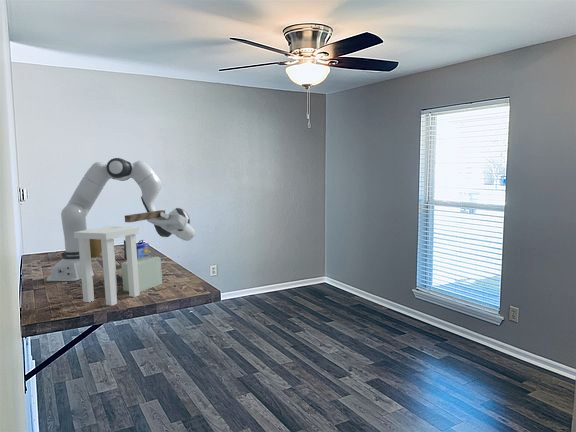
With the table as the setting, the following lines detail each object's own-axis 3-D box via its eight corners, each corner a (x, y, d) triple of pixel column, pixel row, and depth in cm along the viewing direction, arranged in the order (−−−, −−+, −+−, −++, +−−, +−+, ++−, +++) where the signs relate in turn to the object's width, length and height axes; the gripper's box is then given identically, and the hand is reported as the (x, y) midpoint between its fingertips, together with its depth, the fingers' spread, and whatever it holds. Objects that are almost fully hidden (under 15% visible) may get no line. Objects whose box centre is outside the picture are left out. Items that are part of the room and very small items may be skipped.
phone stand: (136, 259, 276) (135, 240, 275) (126, 260, 273) (125, 241, 272) (134, 256, 284) (132, 238, 282) (124, 258, 281) (122, 239, 280)
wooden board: (130, 222, 197) (129, 215, 196) (125, 222, 198) (124, 215, 198) (165, 216, 218) (165, 210, 218) (160, 216, 220) (160, 210, 219)
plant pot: (100, 258, 283) (98, 233, 281) (77, 258, 283) (75, 234, 282) (110, 253, 298) (108, 230, 296) (88, 254, 298) (86, 231, 296)
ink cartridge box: (138, 266, 254) (137, 241, 253) (131, 265, 256) (129, 241, 255) (150, 262, 263) (148, 239, 262) (142, 262, 265) (141, 238, 264)
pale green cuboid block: (138, 292, 198) (136, 264, 196) (123, 290, 202) (121, 263, 200) (162, 283, 212) (160, 257, 211) (147, 282, 216) (146, 256, 215)
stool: (111, 306, 178) (105, 233, 175) (79, 302, 185) (73, 232, 182) (143, 294, 194) (138, 227, 191) (112, 291, 202) (107, 226, 198)
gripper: (159, 218, 231) (141, 207, 220) (190, 218, 223) (174, 207, 211) (155, 229, 229) (138, 219, 218) (187, 230, 221) (171, 219, 209)
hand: (156, 213), depth 214 cm, fingers closed on wooden board, 3 cm apart
